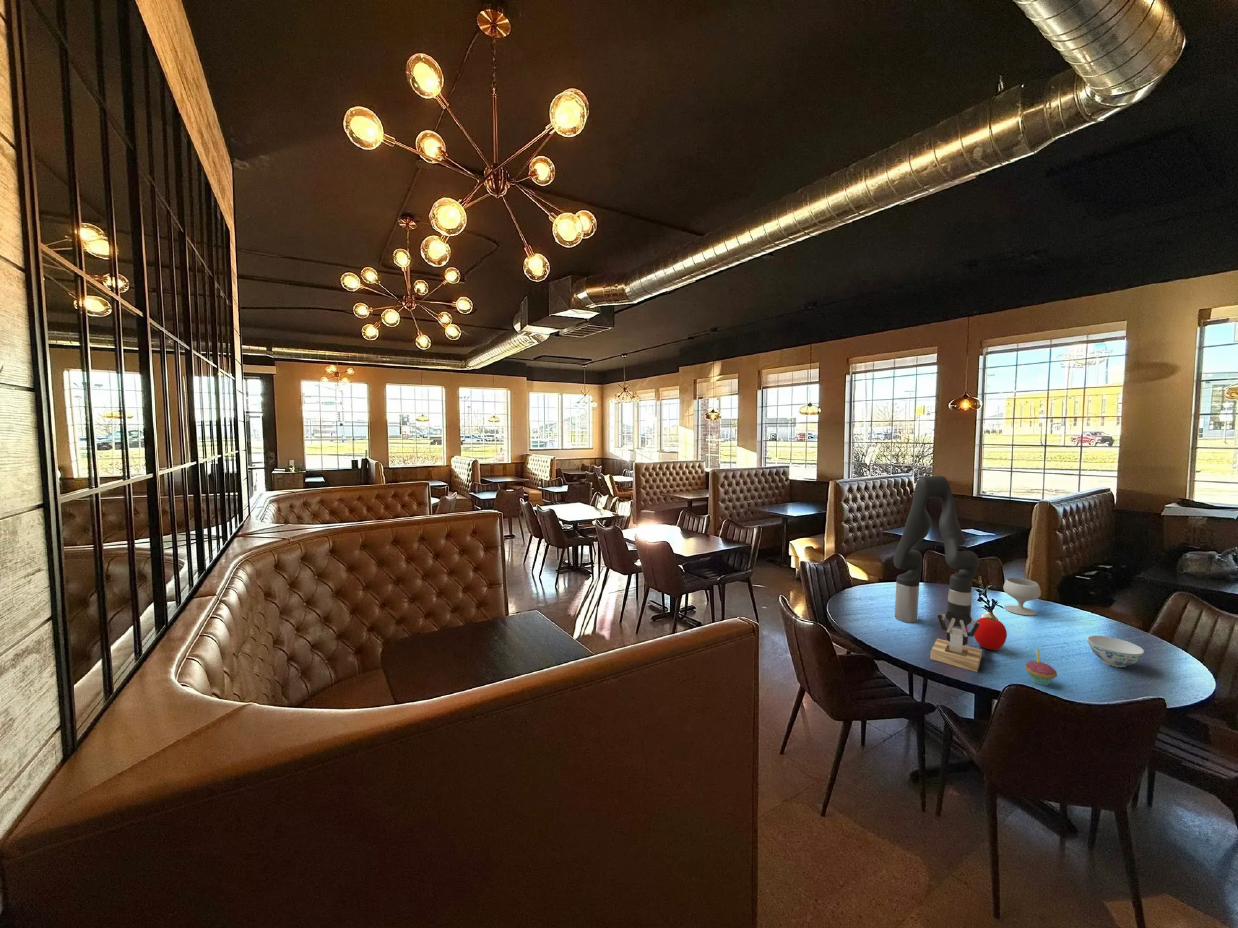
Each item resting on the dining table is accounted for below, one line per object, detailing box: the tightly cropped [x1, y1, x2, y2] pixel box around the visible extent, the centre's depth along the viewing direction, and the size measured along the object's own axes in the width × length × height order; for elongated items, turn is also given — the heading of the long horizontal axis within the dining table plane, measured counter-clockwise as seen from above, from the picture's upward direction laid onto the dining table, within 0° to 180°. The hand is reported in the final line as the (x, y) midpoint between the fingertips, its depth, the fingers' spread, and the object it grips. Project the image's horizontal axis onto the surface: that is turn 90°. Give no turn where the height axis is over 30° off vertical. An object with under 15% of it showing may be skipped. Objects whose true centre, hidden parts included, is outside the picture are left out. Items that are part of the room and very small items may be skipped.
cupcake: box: [1024, 647, 1058, 686], centre depth 171 cm, size 9×8×12 cm
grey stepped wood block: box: [949, 627, 964, 654], centre depth 188 cm, size 7×4×8 cm, turn 138°
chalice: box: [1002, 577, 1042, 617], centre depth 233 cm, size 14×14×15 cm
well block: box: [929, 638, 983, 673], centre depth 189 cm, size 15×15×3 cm
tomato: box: [973, 616, 1008, 651], centre depth 196 cm, size 11×11×13 cm
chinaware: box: [1087, 635, 1145, 668], centre depth 184 cm, size 15×15×8 cm
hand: (956, 642), depth 188 cm, fingers closed on grey stepped wood block, 4 cm apart
